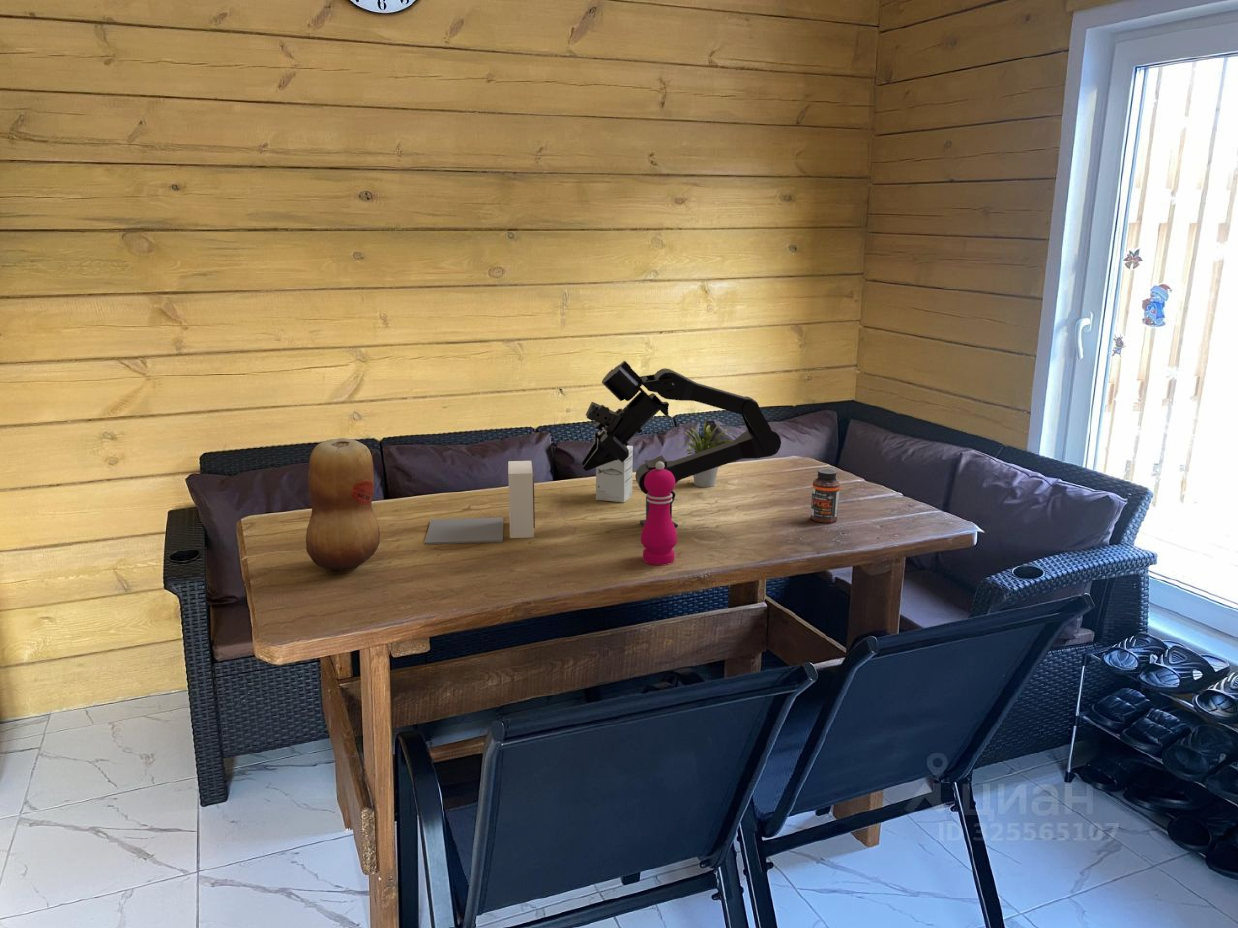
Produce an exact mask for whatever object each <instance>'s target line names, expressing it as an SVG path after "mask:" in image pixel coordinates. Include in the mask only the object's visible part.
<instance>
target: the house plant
mask: <svg viewBox="0 0 1238 928" xmlns="http://www.w3.org/2000/svg"><path fill="white" fill-rule="evenodd" d="M720 425H721V423H719V424H718V425H716V426H715V428H713V430H711V424H708V425H707V422H706V421H704V423H703V433H702V434H703V435H702V439H701V434H699V431H698V430H697V429H696V428H693V427H692V428H691V430H692V431H693V434H692V432H691V431H690V430H688V431H685V434H686V435H687V436H688V437H689V439H690V440H691V441H692V442H693V443H692V442H686V443H685V445H687V446H688V447H691V448H693V449H691V448H688V449H687V450H686V451H685V453H686V454H687V455H692V452H693V454H695V453H698V452H701V451H704V450H707V449H710V448H713V447H716V446H719V445H722V444H725V443H728V442H731V441H733V440H734V439H733V440H732V439H731V440H730V439H729V440H727V439H726V440H721V439H723V438H727V436H726V435H727V433H725V432H726V431H728V430H729V428H726V429H723V430H722V431H721V432H719V433H718V434H717V435H716V437H715V438H714V439H713V440H712V437H713V436H714V433H715V432H716V430H717V429H718V428H719V427H720ZM733 434H734V433H731V435H733ZM711 440H712V441H711ZM719 440H721V441H719ZM718 471H719V467H716V468H713V469H710V470H708V471H705V472H702V473H699V474H696V475H693V483H694V486H695V487H699V488H712V487H715V485H716V482H717V477H718V476H717V475H718Z"/></svg>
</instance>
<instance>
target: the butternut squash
mask: <svg viewBox="0 0 1238 928" xmlns="http://www.w3.org/2000/svg"><path fill="white" fill-rule="evenodd" d="M373 461H374V460H373V456H372V454H371V451H370V449H369V448H368V446H366V445H365V444H363V443H362V442H360V441H357V440H355V439H351V438H345V437H339V438H332V439H327V440H323V441H321V442H319V443H318V444H317V445H316V446H315V447H314V448H313V450H312V452H311V454H310V456H309V462H308V473H307V485H308V489H309V490H308V491H309V497H310V498H309V499H310V503H311V513H310V514H311V515H310V518H309V522H308V524H307V527H306V533H305V544H306V545H305V548H306V553H307V555H308V556H309V558H310V559H311V560H312V562H313V563H314V564H315V565H316V566H318V567H320V568H322V569H324V570H331V569H333V570H332V571H339V570H338V569H340V571H351V570H354V569H357V568H358V567H359V566H361V565H362V564H364V563H365V562H367V561H368V560H369V559H370V558H371V557H373V556H374V555H375V553H376V551H378V548H379V546H380V541H381V540H380V537H381V536H380V535H381V533H380V532H381V531H380V526H379V522H378V519H377V516H376V514H375V511H374V509H373V506H372V501H373V496H374V492H375V489H374V488H375V476H374V473H375V472H374V462H373Z"/></svg>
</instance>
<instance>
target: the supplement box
mask: <svg viewBox="0 0 1238 928" xmlns="http://www.w3.org/2000/svg"><path fill="white" fill-rule="evenodd" d="M627 448H628V450H629V457H628V458H627V459H626V460H625V461H624V462H623V463H622V462H621V461H620V460H619V459H618V460H615V461H612V462H609V463H606V464H604V465H601V466H598V467H596V468H595V500H596V501H605V502H616V503H625V502H627V500H628V499H630V498H631V496H632V494H633V461H634V459H633V457H634V456H633V455H634V452H633V451H634V445H628V446H627Z"/></svg>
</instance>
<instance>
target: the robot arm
mask: <svg viewBox="0 0 1238 928" xmlns="http://www.w3.org/2000/svg"><path fill="white" fill-rule="evenodd" d="M601 383H602V385H603V386H604V387H605V388H606V389H607V390H608V391H610V393H611V394H612V395H614V397H616V399H618V400H619V402H622V401H627V402H628V404H626V406H625V407H624V408H622V407H621V408H617V410H616V411H614V410H613V409H612V410H611V409H610V407H608V406H605V405H604V404H598V403H596V402H595V401H594V402H593V401H591V403H590V405H589V407H588V409H587V410H586V413H585V416H586V419H588V420H590V421H592V422H596V423H594V428H595V429H596V430H599V431H596V430H594V431H593V433H594V435H593V437H594V440H593V441H594V442H593V443H592V445H591V446H590V448H589V450H588V451H587V453H586V455H585V457H583V460H582V461H581V465H582V469H583V470H584V471H585V472H588V471H590V470H593V469H596V467H598V466H601V465H604V464H606V463H609V462H612V461H615V460H618V459H619V460H620V461H621V462H622V463H623V462H624V461H625V460H626V459H627V458H628V457H629V450H628V448H627V446H630V444H629V441H631V439H633V437H635V435H637V434H640V433H642V432H643V428H644V427H645V426H646V425H647V424H648V422H650V420H651V419H653V417H655V415H657V414H658V412H659V411H660V412H661V413H662V414H663V415H664V416H665V417H668V416H669V406H670V403H669V402H668V401H662V400H661V399H660V397H661V398H663V399H665V400H673V401H680V402H681V401H682V402H683V401H689V402H697V403H700V404H703V405H708V406H710V407H714V408H717V409H720V410H725V411H727V412H730V413H735V414H738V415H740V416H741V418H742V421H743V423H744V425H745V427H746V431H744V432H743V433H741V434H740V435H739V436H738V437H736V438H735V439H733V441H731V442H728V443H724V444H722V445H719V446H716V447H713V448H710V449H707V450H704V451H701V452H698V453H695V452H694V453H695V454H694V453H691V454H688V455H685V457H681V458H679V459H676V460H666V459H665V458H664V456H663V455H662V454H661V455H659V456H657V457H655V458H653V459H650V460H649V459H645V460H644V463H643V464H641V465H639V467H638V468H637V470H636V471H635V476H634V477H635V481H636V483H637V485H638V487H639V489H640V490H641V492H642V493H643V494H645V495H646V496H645V519H641V520H639V523H640V524H641V525H643V526H644V524H645V522H646V520H647V517H648V512H649V502H648V501H647V493H649V492H648V491H647V490H646V488H645V486H644V480H645V476H646V475H647V473H648V472H650V471H651V470H654V469H656V467H655V465H656V463H657V462H659V461H661V462H663V463H664V465H665V466H664V469H666V470H668V471H670V472H671V473H672V474H673V476H674V478H675V485H676V484H677V483H679V482H680V481H681V480H683V479H687V478H689V477H692V476H693V475H696V474H699V473H702V472H705V471H708V470H710V469H713V468H716V467H718V468H719V467H721V466H725V465H728V464H731V463H734V462H736V461H740V460H745V459H747V460H749V459H750V460H751V459H753V460H755V459H763V458H770V457H773V456H775V455H776V454H778V453H779V450H780V449H781V445H782V439H781V437H780V435H779V434H778V433H777V432H776V431H774V430H773V429H772V427H771V426H770V424H769V422H768V421H767V419H766V418H765V415H764V414H763V413H762V409H760V406H759V403H758V402H757V401H756V400H755V399H754V398H752V397H750V396H743V395H740V394H736V393H733V392H729V391H726V390H723V389H719V388H716V387H712V386H709V385H706V384H702V383H699V382H696V381H694V380H692V379H690V378H688V377H686V376H684V375H683V374H681V373H678V372H676V371H675V370H673V369H670V368H666V367H665V368H661V369H659V370H657V371H656V372H655V373H653V374H648V375H643V376H642V375H641V376H639V374H638V373H636V371H635V370H634V369H632V367H631V365H630V364H629V363H628V362H627V361H626V360H622V362H621V363H619V364H618V365H617V366H615V367H614V368H612V369H610V371H609V372H608V373H607V374H606V375H605V376H604V377H603V379H602V380H601ZM642 386H643V387H644V388H645V389H646V390H647V391H648V392H651V393H650V394H648V393H647V392H646V391H645V390H644V389H643V388H642ZM655 393H657V394H658V395H659V396H660V397H658V396H657V394H655ZM671 493H672V502H670V515H671V519H673V504H674V503H673V502H674V500H675V498H676V493H675V491H674V489H673V490H672V491H671ZM672 522H673V524H674V527H675V528H678V527H679V526H678V523H676V522H674V521H673V520H672Z"/></svg>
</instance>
